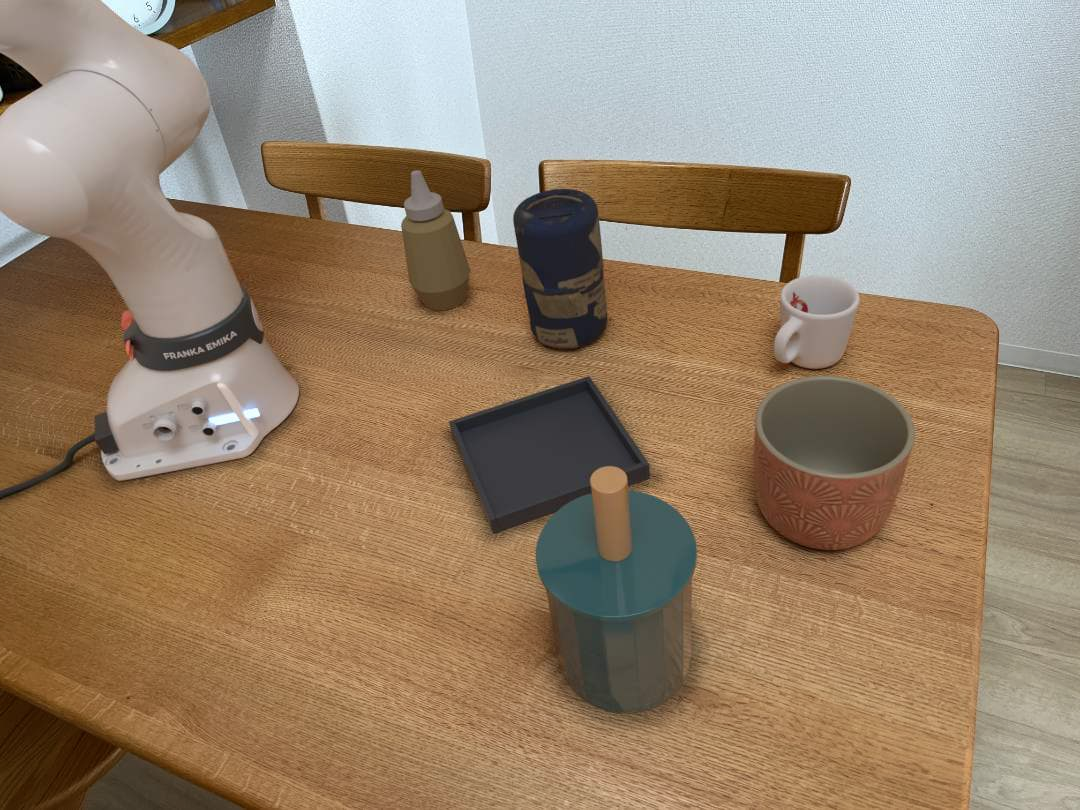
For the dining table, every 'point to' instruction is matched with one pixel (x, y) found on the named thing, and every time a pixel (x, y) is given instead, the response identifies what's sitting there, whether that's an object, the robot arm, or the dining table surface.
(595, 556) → the teal lid with handle
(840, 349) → the cup
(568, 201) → the canister
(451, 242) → the squeeze bottle
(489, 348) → the dining table surface
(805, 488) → the planter
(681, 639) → the faceted pencil holder
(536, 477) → the tray
